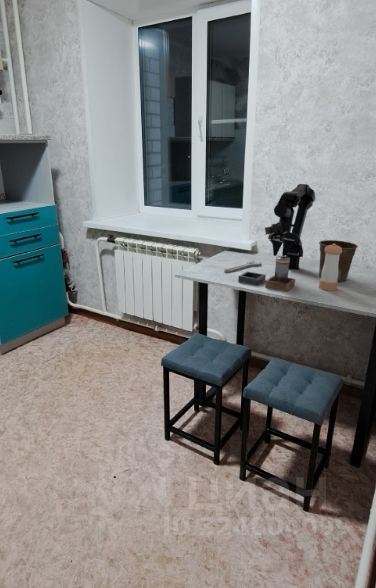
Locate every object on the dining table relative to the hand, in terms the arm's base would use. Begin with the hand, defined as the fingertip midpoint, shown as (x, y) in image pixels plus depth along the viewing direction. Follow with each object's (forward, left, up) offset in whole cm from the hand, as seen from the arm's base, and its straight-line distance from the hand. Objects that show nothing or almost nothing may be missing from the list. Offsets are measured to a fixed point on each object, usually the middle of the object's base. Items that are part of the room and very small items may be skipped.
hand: (279, 255), depth 178 cm
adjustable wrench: (+13, -17, -11) cm, 24 cm away
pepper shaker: (-18, +14, -10) cm, 25 cm away
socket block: (+12, +4, -10) cm, 17 cm away
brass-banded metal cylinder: (+2, +12, -10) cm, 16 cm away
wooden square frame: (+2, +12, -10) cm, 16 cm away
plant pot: (-26, 0, -10) cm, 28 cm away
